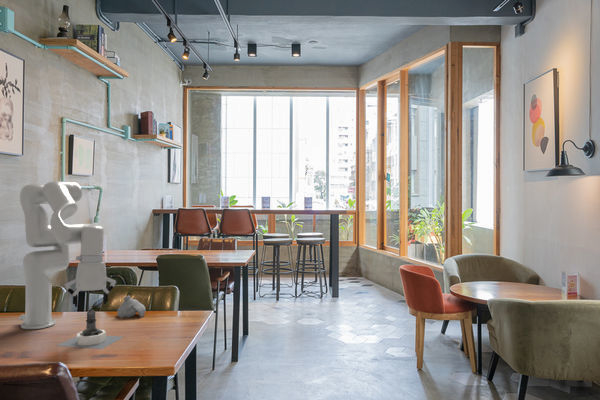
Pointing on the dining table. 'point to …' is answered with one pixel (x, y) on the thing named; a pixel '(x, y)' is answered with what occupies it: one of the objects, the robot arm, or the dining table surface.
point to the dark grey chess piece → (91, 324)
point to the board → (102, 345)
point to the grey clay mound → (130, 308)
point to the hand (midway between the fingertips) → (90, 304)
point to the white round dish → (91, 338)
